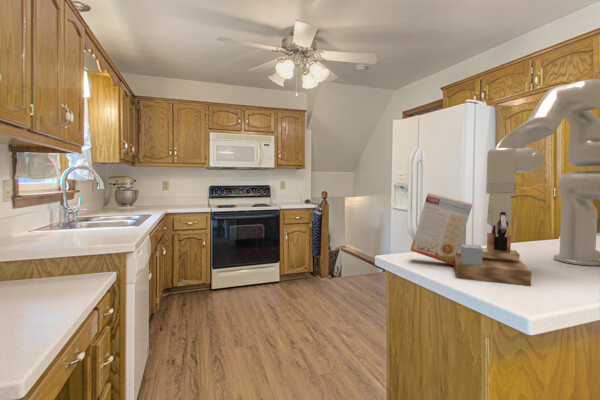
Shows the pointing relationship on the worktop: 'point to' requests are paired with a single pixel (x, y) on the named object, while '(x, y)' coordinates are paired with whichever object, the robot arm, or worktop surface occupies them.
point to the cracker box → (441, 227)
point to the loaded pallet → (501, 255)
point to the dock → (494, 271)
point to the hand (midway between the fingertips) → (498, 247)
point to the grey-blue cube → (471, 254)
